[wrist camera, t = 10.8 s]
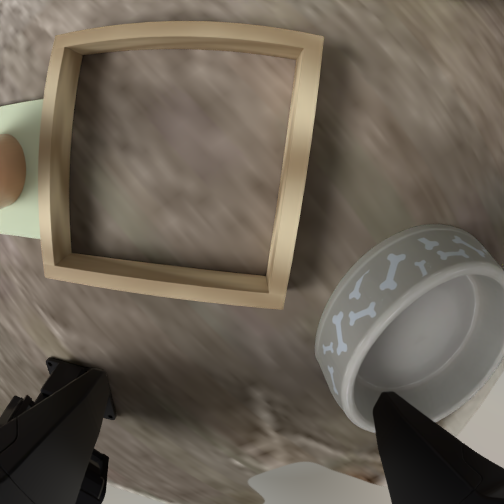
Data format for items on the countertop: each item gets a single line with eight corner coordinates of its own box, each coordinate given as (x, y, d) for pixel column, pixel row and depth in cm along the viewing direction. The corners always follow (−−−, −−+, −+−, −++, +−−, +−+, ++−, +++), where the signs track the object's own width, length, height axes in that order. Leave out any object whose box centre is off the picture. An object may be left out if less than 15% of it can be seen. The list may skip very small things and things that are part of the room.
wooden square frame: (278, 290, 21) (282, 309, 18) (62, 263, 20) (45, 277, 17) (314, 49, 15) (323, 36, 13) (73, 44, 14) (55, 35, 12)
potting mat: (49, 236, 19) (45, 239, 18) (-22, 228, 18) (-26, 230, 18) (53, 99, 16) (48, 98, 15) (-22, 112, 15) (-27, 113, 15)
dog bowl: (361, 425, 27) (375, 464, 22) (275, 302, 21) (284, 349, 16) (493, 338, 24) (520, 366, 19) (463, 183, 19) (511, 197, 14)
